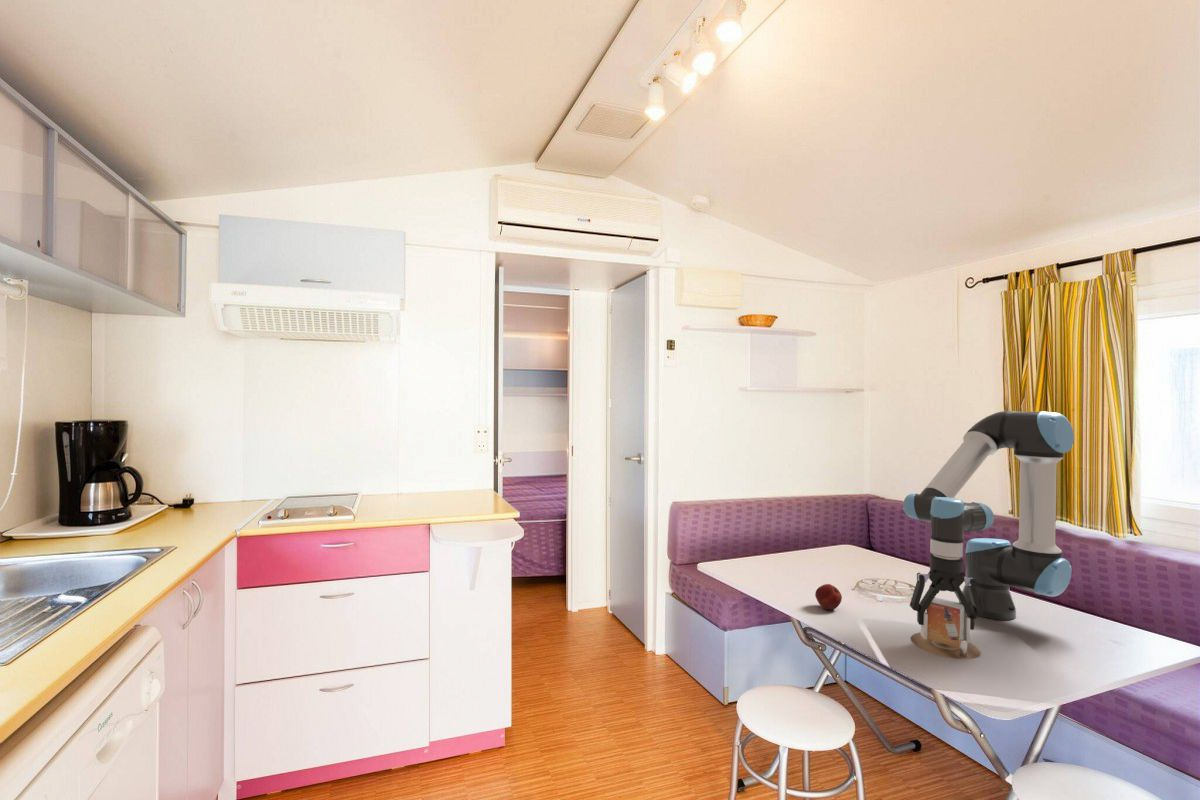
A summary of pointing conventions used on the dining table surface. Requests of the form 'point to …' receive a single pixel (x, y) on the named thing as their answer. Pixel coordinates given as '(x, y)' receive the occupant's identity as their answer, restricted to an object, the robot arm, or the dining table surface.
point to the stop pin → (963, 648)
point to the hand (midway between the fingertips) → (944, 638)
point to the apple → (828, 596)
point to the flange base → (944, 648)
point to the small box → (946, 622)
